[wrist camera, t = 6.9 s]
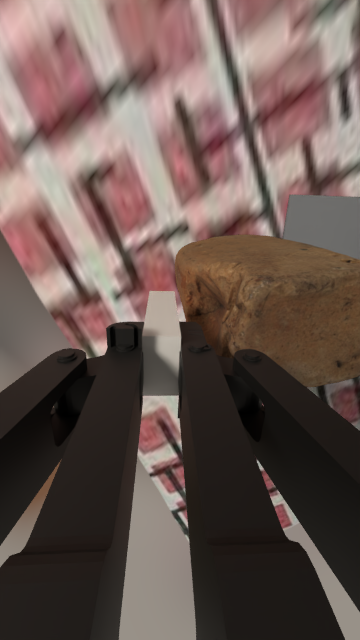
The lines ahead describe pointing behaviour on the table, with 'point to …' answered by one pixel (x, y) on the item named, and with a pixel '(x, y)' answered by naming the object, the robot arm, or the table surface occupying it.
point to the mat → (325, 222)
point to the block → (275, 303)
